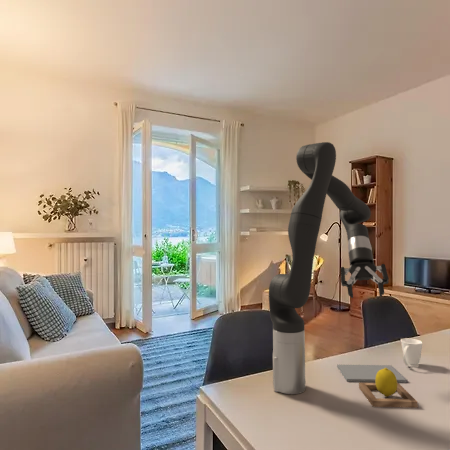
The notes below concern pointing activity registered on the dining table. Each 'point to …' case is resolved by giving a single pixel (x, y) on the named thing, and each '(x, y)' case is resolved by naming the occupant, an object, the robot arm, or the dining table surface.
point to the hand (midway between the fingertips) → (366, 296)
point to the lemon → (386, 382)
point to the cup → (411, 351)
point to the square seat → (379, 402)
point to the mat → (367, 372)
